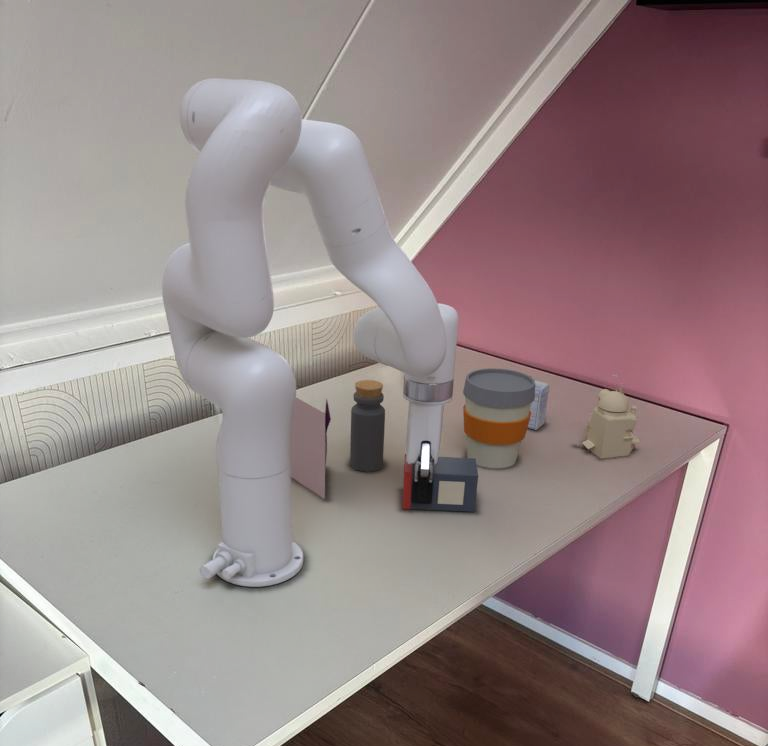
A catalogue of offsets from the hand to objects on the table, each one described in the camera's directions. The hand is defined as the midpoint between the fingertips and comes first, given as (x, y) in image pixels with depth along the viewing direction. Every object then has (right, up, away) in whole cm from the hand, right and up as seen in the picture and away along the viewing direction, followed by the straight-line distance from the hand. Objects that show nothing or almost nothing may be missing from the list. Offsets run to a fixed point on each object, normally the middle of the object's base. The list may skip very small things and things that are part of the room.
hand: (421, 491), depth 131 cm
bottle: (-9, +5, +12) cm, 16 cm away
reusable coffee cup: (+14, +6, +17) cm, 23 cm away
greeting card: (-19, +1, +5) cm, 19 cm away
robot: (+36, +9, +22) cm, 43 cm away
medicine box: (+22, +14, +32) cm, 41 cm away
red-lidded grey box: (+3, -2, +1) cm, 3 cm away
